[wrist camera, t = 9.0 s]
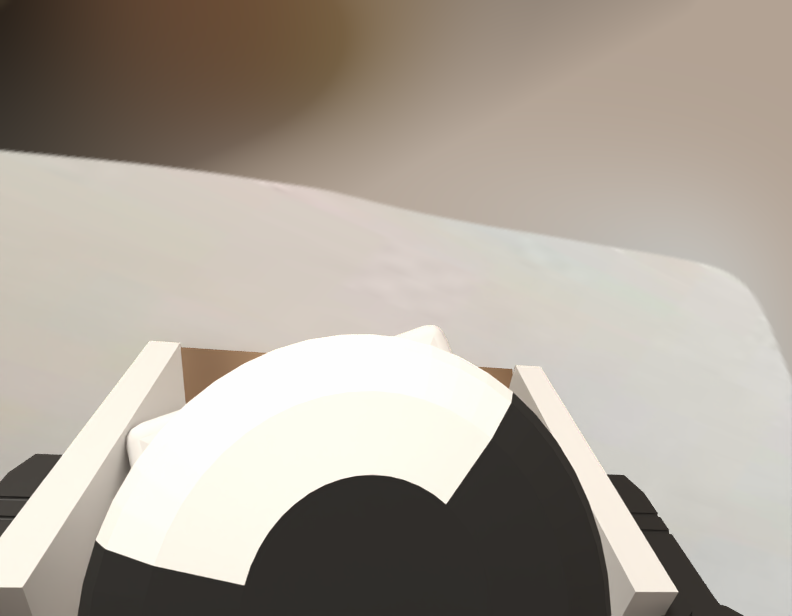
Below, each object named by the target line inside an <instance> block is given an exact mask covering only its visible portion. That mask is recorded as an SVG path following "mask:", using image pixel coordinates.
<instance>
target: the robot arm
mask: <svg viewBox="0 0 792 616" xmlns="http://www.w3.org/2000/svg"><path fill="white" fill-rule="evenodd" d="M509 389H510V390H511V391H512V392H513V393H515V394H516V395H517V396H518V397H519V398H520V399H521V400H522V401H523V402H524V403H525V404H526V405H527V406H528V407H529V408H530V409H531V410H532V411H533V412H534V413H535V414H536V415H537V417H538V418H539V419H540V420H541V422H542V423H543V424H544V425H545V427H546V428H547V429H548V430H549V432H550V433H551V434H552V436H553V437H554V438H555V439H556V441H557V442H558V444H559V445H560V447H561V449H562V450H563V452H564V454H565V455H566V457H567V459H568V460H569V462H570V463H571V465H572V467H573V468H574V470H575V472H576V474H577V477H578V479H579V481H580V483H581V485H582V488H583V490H584V492H585V494H586V496H587V498H588V501H589V503H590V506H591V509H592V512H593V515H594V519H595V522H596V525H597V528H598V531H599V534H600V537H601V542H602V547H603V552H604V557H605V562H606V567H607V572H608V580H609V592H610V604H611V616H743V615H741V614H740V613H738V612H736V611H734V610H732V609H730V608H729V607H727V606H723V605H720V604H719V603H718V602H717V600H716V599H715V598H714V596H713V595H712V593H711V592H710V590H709V589H708V587H707V586H706V584H705V583H704V581H703V580H702V578H701V577H700V575H699V574H698V572H697V571H696V570H695V568H694V567H693V565H692V564H691V562H690V561H689V559H688V558H687V556H686V555H685V553H684V552H683V550H682V549H681V547H680V546H679V544H678V543H677V541H676V540H675V538H674V537H673V535H672V534H669V529H668V528H667V526H666V525H665V523H664V522H663V520H662V519H661V518H660V517H658V516H657V512H656V510H655V509H654V507H653V506H652V504H651V503H650V501H649V500H648V498H647V497H646V495H645V494H644V493H643V492H642V491H641V490H640V489H639V488H638V487H637V486H636V485H635V484H633V483H632V482H631V481H630V480H629V479H628V478H627V477H626V476H624V475H607V474H606V473H605V471H604V469H603V468H602V466H601V465H600V463H599V461H598V460H597V458H596V456H595V455H594V453H593V451H592V450H591V448H590V447H589V445H588V443H587V442H586V440H585V438H584V437H583V435H582V433H581V432H580V430H579V429H578V427H577V425H576V424H575V422H574V420H573V419H572V417H571V415H570V414H569V412H568V411H567V409H566V407H565V406H564V404H563V402H562V401H561V399H560V398H559V396H558V394H557V393H556V391H555V389H554V388H553V386H552V384H551V383H550V381H549V380H548V378H547V376H546V375H545V373H544V371H543V370H542V368H541V367H536V366H521V365H515V368H514V372H513V375H512V379H511V383H510V386H509ZM185 405H186V402H185V391H184V380H183V369H182V358H181V347H180V343H175V342H160V341H149V342H148V344H147V345H146V346H145V348H144V349H143V350H142V352H141V353H140V354H139V356H138V357H137V358H136V359H135V361H134V362H133V363H132V365H131V366H130V367H129V369H128V370H127V371H126V373H125V374H124V375H123V377H122V378H121V379H120V380H119V382H118V383H117V384H116V386H115V387H114V388H113V390H112V391H111V392H110V394H109V395H108V396H107V398H106V399H105V400H104V401H103V403H102V404H101V405H100V407H99V408H98V409H97V411H96V412H95V413H94V415H93V416H92V417H91V419H90V420H89V421H88V423H87V424H86V425H85V426H84V428H83V429H82V430H81V432H80V433H79V434H78V436H77V437H76V438H75V440H74V441H73V442H72V444H71V445H70V446H69V447H68V449H67V450H66V451H65V453H64V454H63V455H50V454H35V455H34V456H32V457H31V458H29V459H28V460H26V461H25V462H23V463H22V464H20V465H19V466H17V467H16V468H15V469H13V470H12V471H10V472H9V473H8V474H7V475H6V476H5V477H4V478H3V479H2V481H1V482H0V616H77V615H78V609H79V603H80V597H81V591H82V585H83V581H84V577H85V574H86V570H87V567H88V564H89V560H90V557H91V554H92V550H93V547H94V543H95V540H96V538H97V535H98V533H99V531H100V529H101V526H102V524H103V522H104V519H105V517H106V515H107V512H108V510H109V508H110V506H111V503H112V501H113V499H114V497H115V496H116V494H117V492H118V491H119V489H120V487H121V485H122V484H123V482H124V480H125V479H126V477H127V475H128V474H129V472H130V470H131V466H130V462H129V457H128V453H127V448H126V437H127V435H128V434H129V432H130V431H131V429H133V428H134V427H136V426H137V425H139V424H141V423H143V422H146V421H149V420H151V419H154V418H157V417H160V416H163V415H166V414H169V413H172V412H175V411H178V410H181V409H182V408H183V407H184V406H185Z"/></svg>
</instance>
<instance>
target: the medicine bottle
mask: <svg viewBox="0 0 792 616" xmlns="http://www.w3.org/2000/svg"><path fill="white" fill-rule="evenodd" d="M126 448H127V453H128V457H129V462H130V466H131V470H130V472H129V474H128V475H127V477H126V479H125V480H124V482H123V484H122V485H121V487H120V489H119V491H118V492H117V494H116V496H115V497H114V499H113V501H112V503H111V506H110V508H109V510H108V512H107V515H106V517H105V519H104V522H103V524H102V526H101V529H100V531H99V533H98V535H97V538H96V540H95V543H94V547H93V550H92V554H91V557H90V560H89V564H88V567H87V570H86V574H85V577H84V581H83V585H82V591H81V597H80V603H79V609H78V615H77V616H611V604H610V592H609V580H608V572H607V567H606V562H605V557H604V552H603V547H602V542H601V537H600V534H599V531H598V528H597V525H596V522H595V519H594V515H593V512H592V509H591V506H590V503H589V501H588V498H587V496H586V494H585V492H584V490H583V488H582V485H581V483H580V481H579V479H578V477H577V474H576V472H575V470H574V468H573V467H572V465H571V463H570V462H569V460H568V459H567V457H566V455H565V454H564V452H563V450H562V449H561V447H560V445H559V444H558V442H557V441H556V439H555V438H554V437H553V436H552V434H551V433H550V432H549V430H548V429H547V428H546V427H545V425H544V424H543V423H542V422H541V420H540V419H539V418H538V417H537V415H536V414H535V413H534V412H533V411H532V410H531V409H530V408H529V407H528V406H527V405H526V404H525V403H524V402H523V401H522V400H521V399H520V398H519V397H518V396H517V395H516V394H515V393H513V392H512V391H511V390H510V389H508V388H507V387H506V386H504V385H503V384H502V383H501V382H499V381H498V380H497V379H495V378H494V377H493V376H491V375H490V374H489V373H487V372H485V371H484V370H482V369H480V368H478V367H477V366H475V365H473V364H471V363H470V362H468V361H466V360H464V359H463V358H461V357H459V356H456V355H454V354H453V353H452V351H451V348H450V346H449V344H448V341H447V339H446V336H445V334H444V333H443V331H442V330H441V329H440V328H439V327H437V326H435V325H427V326H422V327H419V328H416V329H413V330H411V331H408V332H405V333H402V334H399V335H396V336H393V337H390V336H381V335H372V334H364V335H336V336H330V337H323V338H317V339H310V340H306V341H303V342H299V343H296V344H292V345H289V346H285V347H282V348H279V349H276V350H273V351H271V352H269V353H267V354H264V355H262V356H260V357H258V358H255V359H253V360H251V361H249V362H246V363H244V364H243V365H241V366H239V367H238V368H236V369H234V370H233V371H231V372H229V373H228V374H226V375H224V376H223V377H221V378H220V379H218V380H216V381H215V382H213V383H212V384H211V385H210V386H208V387H207V388H206V389H205V390H203V391H202V392H201V393H199V394H198V395H197V396H196V397H194V398H193V399H192V400H191V401H189V402H188V403H187V404H186V405H185V406H184V407H183V408H182V409H181V410H178V411H175V412H172V413H169V414H166V415H163V416H160V417H157V418H154V419H151V420H149V421H146V422H143V423H141V424H139V425H137V426H136V427H134V428H133V429H131V431H130V432H129V434H128V435H127V437H126Z"/></svg>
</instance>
